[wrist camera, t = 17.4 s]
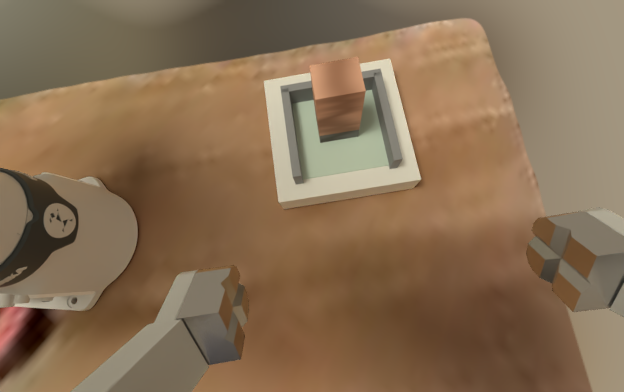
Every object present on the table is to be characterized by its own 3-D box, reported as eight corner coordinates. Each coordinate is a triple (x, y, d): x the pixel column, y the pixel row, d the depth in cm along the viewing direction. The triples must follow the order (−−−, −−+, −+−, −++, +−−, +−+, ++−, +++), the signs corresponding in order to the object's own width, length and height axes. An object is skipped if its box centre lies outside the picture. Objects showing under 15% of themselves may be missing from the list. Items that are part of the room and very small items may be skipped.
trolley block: (320, 142, 39) (315, 99, 29) (315, 115, 40) (309, 65, 30) (358, 136, 39) (365, 90, 29) (352, 109, 40) (358, 56, 30)
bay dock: (283, 209, 41) (273, 196, 34) (269, 97, 46) (258, 66, 39) (413, 188, 41) (428, 171, 34) (385, 76, 45) (394, 42, 38)
